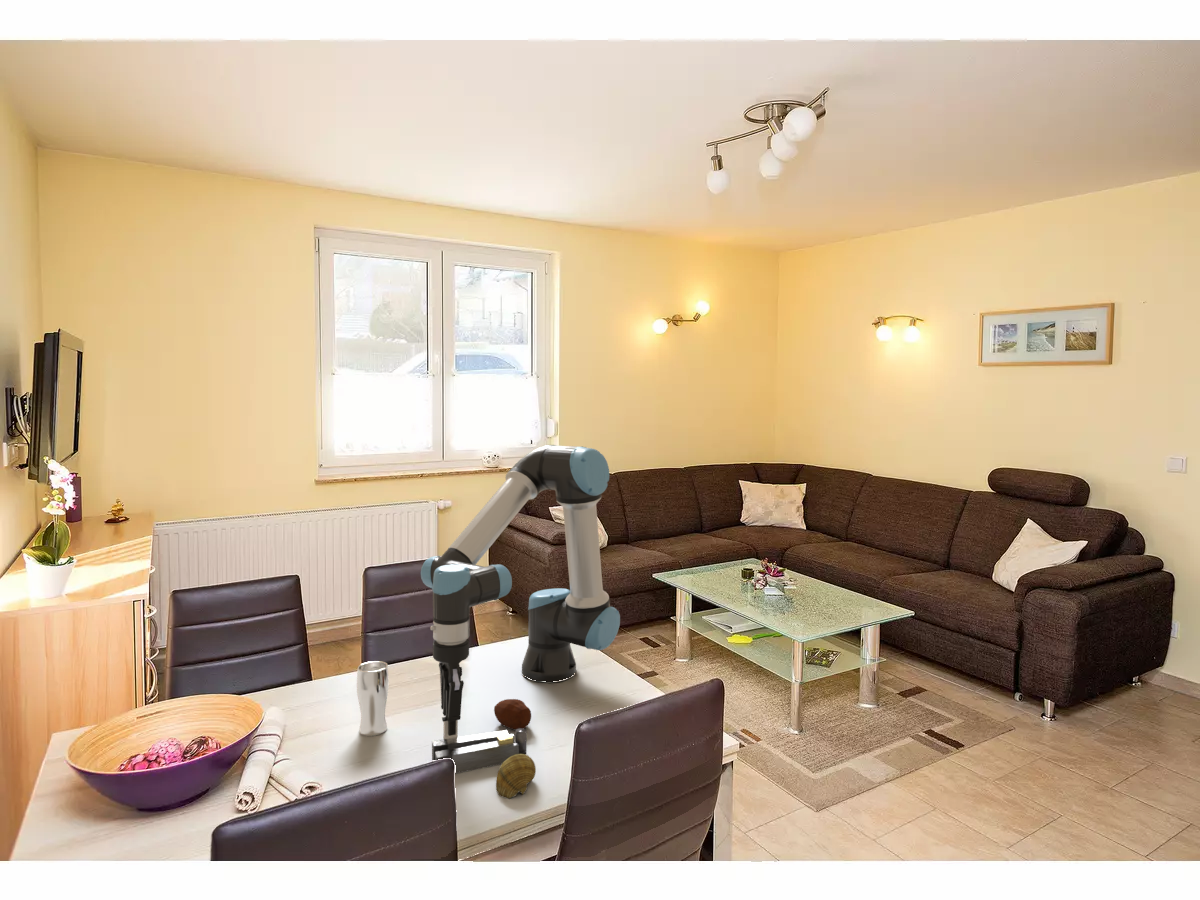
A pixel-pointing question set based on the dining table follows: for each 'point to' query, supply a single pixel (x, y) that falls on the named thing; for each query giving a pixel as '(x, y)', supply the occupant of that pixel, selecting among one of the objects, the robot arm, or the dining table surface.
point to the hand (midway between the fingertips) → (450, 746)
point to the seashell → (515, 775)
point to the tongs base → (486, 752)
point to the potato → (512, 713)
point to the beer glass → (372, 697)
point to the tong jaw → (466, 741)
